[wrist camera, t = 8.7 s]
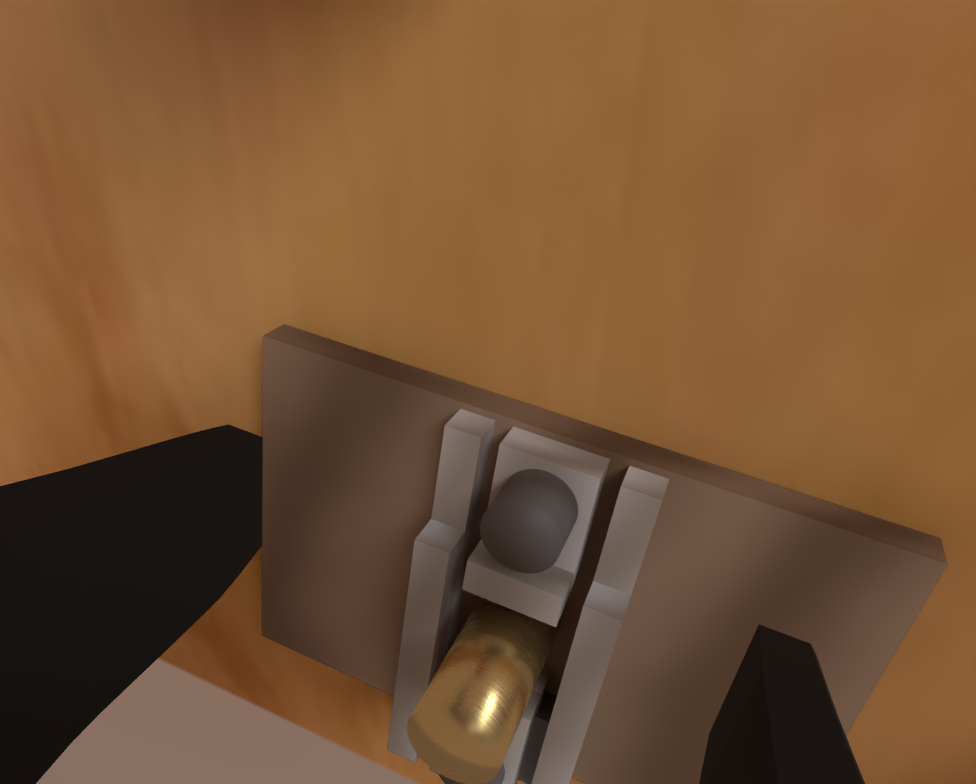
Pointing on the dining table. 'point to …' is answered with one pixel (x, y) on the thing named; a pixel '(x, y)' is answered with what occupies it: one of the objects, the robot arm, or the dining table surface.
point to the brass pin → (480, 693)
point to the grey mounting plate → (554, 561)
